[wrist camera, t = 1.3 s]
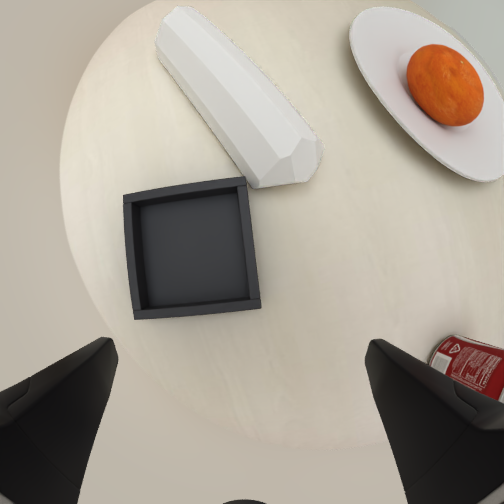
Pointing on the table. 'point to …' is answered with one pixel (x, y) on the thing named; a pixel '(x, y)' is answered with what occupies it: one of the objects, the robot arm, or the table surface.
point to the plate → (432, 89)
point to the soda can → (472, 365)
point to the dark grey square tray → (191, 250)
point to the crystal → (238, 101)
